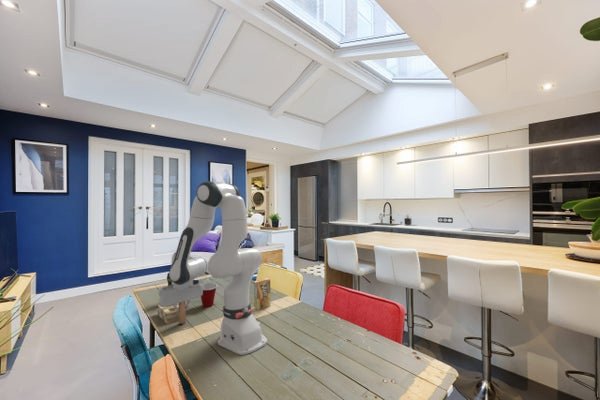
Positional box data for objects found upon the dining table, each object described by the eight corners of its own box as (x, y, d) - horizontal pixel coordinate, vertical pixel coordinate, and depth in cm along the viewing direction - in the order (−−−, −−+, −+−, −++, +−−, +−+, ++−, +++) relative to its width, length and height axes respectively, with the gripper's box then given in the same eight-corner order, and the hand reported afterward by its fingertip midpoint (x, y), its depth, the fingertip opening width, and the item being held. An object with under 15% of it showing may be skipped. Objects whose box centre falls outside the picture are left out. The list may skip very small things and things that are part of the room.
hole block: (185, 318, 134) (185, 308, 134) (167, 324, 128) (167, 314, 128) (175, 309, 146) (175, 300, 146) (157, 314, 139) (157, 305, 139)
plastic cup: (204, 311, 142) (204, 289, 142) (194, 306, 149) (194, 286, 149) (221, 304, 151) (221, 284, 151) (211, 300, 158) (210, 281, 158)
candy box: (267, 303, 151) (266, 277, 151) (270, 305, 148) (270, 279, 148) (253, 307, 146) (253, 281, 146) (257, 310, 142) (257, 282, 142)
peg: (186, 322, 128) (186, 298, 128) (180, 324, 126) (179, 300, 126) (184, 320, 130) (183, 297, 130) (178, 322, 128) (177, 298, 128)
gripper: (161, 289, 119) (161, 319, 119) (203, 279, 133) (204, 305, 133) (156, 286, 123) (157, 315, 123) (198, 277, 138) (199, 302, 138)
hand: (182, 310), depth 128 cm, fingers closed on peg, 3 cm apart
